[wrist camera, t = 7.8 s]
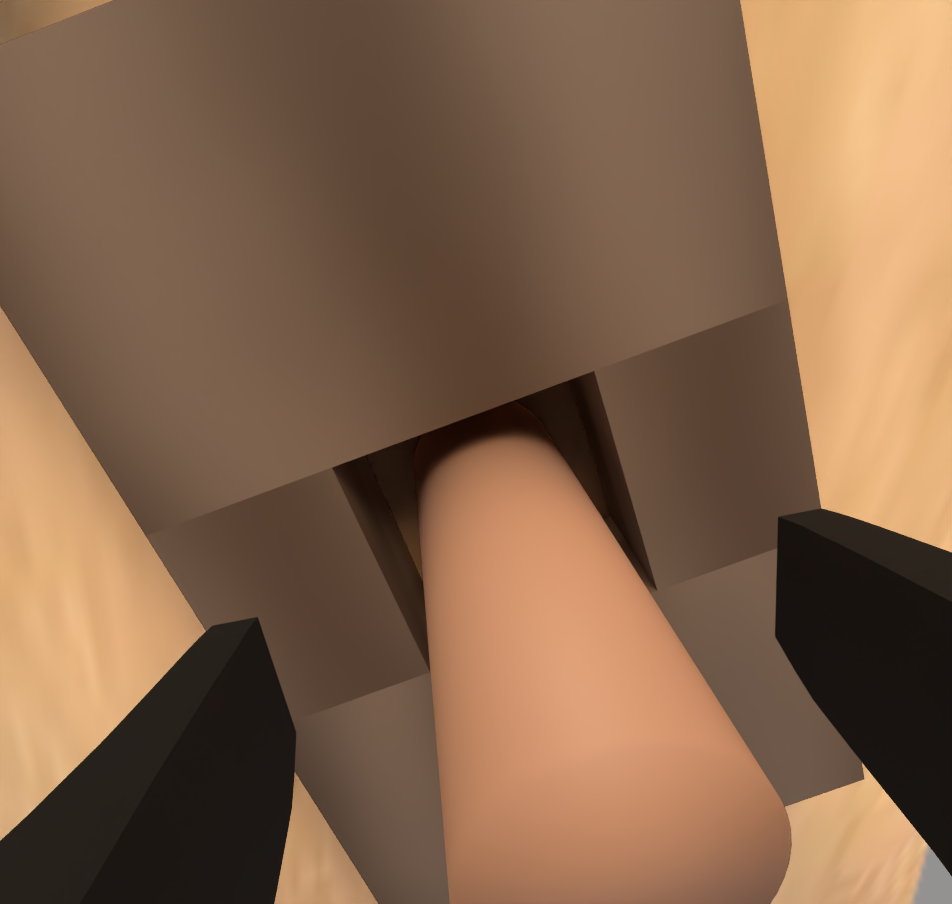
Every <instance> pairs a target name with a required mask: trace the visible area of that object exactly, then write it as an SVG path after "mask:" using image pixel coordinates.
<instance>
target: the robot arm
mask: <svg viewBox="0 0 952 904" xmlns="http://www.w3.org/2000/svg"><path fill="white" fill-rule="evenodd" d="M775 637H776V639H777V641H778V643H779V644H780V646H781V648H782V649H783V651H784V653H785V655H786V656H787V658H788V660H789V662H790V663H791V665H792V667H793V668H794V670H795V672H796V673H797V675H798V677H799V678H800V680H801V681H802V683H803V685H804V686H805V688H806V689H807V691H808V693H809V694H810V696H811V697H812V699H813V700H814V702H815V703H816V704H817V706H818V707H819V708H820V710H821V711H822V712H823V713H824V715H825V716H826V717H827V719H828V720H829V721H830V722H831V724H832V725H833V726H834V727H835V729H836V730H837V731H838V733H839V734H840V735H841V736H842V738H843V739H844V740H845V741H846V743H847V744H848V745H849V747H850V748H851V749H852V750H853V752H854V753H855V754H856V755H857V757H858V758H859V759H860V760H861V762H862V763H863V764H864V765H865V767H866V768H867V769H868V770H869V772H870V773H871V774H872V775H873V777H874V778H875V779H876V780H877V782H878V783H879V784H880V785H881V787H882V788H883V789H884V790H885V792H886V793H887V794H888V795H889V797H890V798H891V799H892V800H893V802H894V803H895V804H896V805H897V807H898V808H899V809H900V810H901V812H902V813H903V814H904V815H905V817H906V818H907V819H908V820H909V822H910V823H911V824H912V825H913V827H914V828H915V829H916V830H917V832H918V833H919V834H920V835H921V837H922V838H923V839H924V840H925V842H926V843H927V844H928V845H929V847H930V848H931V849H932V850H933V852H934V853H935V854H936V856H937V857H938V858H939V860H940V861H941V862H942V864H943V865H944V866H945V868H946V869H947V870H948V872H949V873H950V874H951V876H952V553H951V552H949V551H946V550H943V549H940V548H937V547H935V546H932V545H929V544H926V543H924V542H921V541H918V540H915V539H912V538H910V537H907V536H904V535H901V534H899V533H896V532H893V531H890V530H887V529H885V528H882V527H879V526H876V525H873V524H870V523H867V522H864V521H861V520H858V519H855V518H852V517H849V516H846V515H843V514H839V513H836V512H832V511H829V510H825V509H821V508H820V509H815V510H810V511H805V512H799V513H794V514H789V515H784V516H779V517H778V535H777V575H776V614H775ZM295 752H296V730H295V727H294V724H293V721H292V718H291V715H290V712H289V709H288V706H287V703H286V700H285V697H284V694H283V691H282V688H281V685H280V682H279V679H278V676H277V673H276V670H275V667H274V664H273V661H272V658H271V655H270V652H269V649H268V646H267V643H266V640H265V637H264V634H263V631H262V628H261V625H260V622H259V619H258V617H254V618H249V619H244V620H239V621H234V622H229V623H223V624H218V625H213V626H211V627H210V628H209V629H208V630H207V631H206V632H205V633H204V634H203V635H202V636H201V637H200V638H199V639H198V640H197V641H196V642H195V643H194V644H193V645H192V646H191V647H190V648H189V649H188V650H187V652H186V653H185V654H184V655H183V656H182V657H181V658H180V659H179V660H178V661H177V662H176V663H175V664H174V666H173V667H172V668H171V669H170V670H169V671H168V672H167V673H166V674H165V675H164V676H163V677H162V679H161V680H160V681H159V682H158V683H157V684H156V685H155V686H154V687H153V688H152V689H151V690H150V692H149V693H148V694H147V695H146V696H145V697H144V698H143V699H142V700H141V701H140V702H139V703H138V704H137V705H136V706H135V708H134V709H133V710H132V711H131V712H130V713H129V714H128V715H127V716H126V717H125V718H124V719H123V720H122V721H121V722H120V723H119V725H118V726H117V727H116V728H115V729H114V730H113V731H112V732H111V733H110V734H109V735H108V736H107V737H106V738H105V739H104V740H103V741H102V742H101V744H100V745H99V746H98V747H97V748H96V749H94V750H93V751H92V752H91V753H90V754H89V755H88V756H87V757H86V758H85V759H84V760H83V761H82V762H81V763H80V764H79V765H78V766H77V767H76V768H75V769H74V770H73V771H72V772H71V773H70V774H69V775H68V776H67V777H66V778H65V779H64V780H63V781H62V782H61V783H60V784H59V785H58V786H57V787H56V788H55V789H54V790H53V791H52V792H51V793H50V794H49V795H48V796H47V797H46V798H45V799H44V800H43V801H42V802H41V803H40V804H39V805H38V806H37V807H36V808H35V809H34V810H33V811H32V812H31V813H30V814H29V815H28V816H27V817H26V818H24V819H23V820H22V821H21V822H20V823H19V824H18V825H17V826H16V827H15V828H14V829H13V830H12V831H10V832H9V833H8V834H7V835H6V836H5V837H4V838H3V839H2V840H1V841H0V904H274V902H275V897H276V891H277V886H278V881H279V876H280V870H281V865H282V859H283V854H284V848H285V843H286V838H287V832H288V827H289V821H290V815H291V809H292V799H293V785H294V772H295Z"/></svg>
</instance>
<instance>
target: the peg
mask: <svg viewBox="0 0 952 904" xmlns="http://www.w3.org/2000/svg"><path fill="white" fill-rule="evenodd" d="M414 476H415V489H416V501H417V513H418V525H419V537H420V549H421V561H422V574H423V586H424V598H425V610H426V622H427V634H428V646H429V658H430V671H431V683H432V695H433V707H434V719H435V731H436V743H437V756H438V768H439V780H440V792H441V804H442V816H443V828H444V840H445V853H446V865H447V877H448V889H449V901H450V904H770V903H771V902H772V900H773V899H774V897H775V895H776V894H777V892H778V890H779V888H780V886H781V884H782V882H783V879H784V877H785V874H786V871H787V868H788V864H789V861H790V853H791V846H792V842H791V827H790V823H789V819H788V814H787V812H786V810H785V807H784V805H783V803H782V801H781V799H780V797H779V796H778V794H777V793H776V791H775V789H774V788H773V786H772V785H771V783H770V781H769V780H768V778H767V777H766V775H765V774H764V772H763V770H762V769H761V767H760V766H759V764H758V763H757V761H756V759H755V758H754V756H753V755H752V753H751V752H750V750H749V748H748V747H747V745H746V744H745V742H744V741H743V739H742V737H741V736H740V734H739V733H738V731H737V730H736V728H735V726H734V725H733V723H732V722H731V720H730V719H729V717H728V715H727V714H726V712H725V711H724V709H723V707H722V706H721V704H720V703H719V701H718V700H717V698H716V696H715V695H714V693H713V692H712V690H711V689H710V687H709V685H708V684H707V682H706V681H705V679H704V678H703V676H702V674H701V673H700V671H699V670H698V668H697V667H696V665H695V663H694V662H693V660H692V659H691V657H690V656H689V654H688V652H687V651H686V649H685V648H684V646H683V644H682V643H681V641H680V640H679V638H678V637H677V635H676V633H675V632H674V630H673V629H672V627H671V626H670V624H669V622H668V621H667V619H666V618H665V616H664V615H663V613H662V611H661V610H660V608H659V607H658V605H657V604H656V602H655V600H654V599H653V597H652V596H651V594H650V593H649V591H648V589H647V588H646V586H645V585H644V583H643V582H642V580H641V578H640V577H639V575H638V574H637V572H636V570H635V569H634V567H633V566H632V564H631V563H630V561H629V559H628V558H627V556H626V555H625V553H624V552H623V550H622V548H621V547H620V545H619V544H618V542H617V541H616V539H615V537H614V536H613V534H612V533H611V531H610V530H609V528H608V526H607V525H606V523H605V522H604V520H603V519H602V517H601V515H600V514H599V512H598V511H597V509H596V507H595V506H594V504H593V503H592V501H591V500H590V498H589V496H588V495H587V493H586V492H585V490H584V489H583V487H582V485H581V484H580V482H579V481H578V479H577V478H576V476H575V474H574V473H573V471H572V470H571V468H570V467H569V465H568V463H567V462H566V460H565V459H564V457H563V456H562V454H561V452H560V451H559V449H558V448H557V446H556V444H555V443H554V441H553V440H552V438H551V437H550V435H549V433H548V432H547V430H546V429H545V427H544V426H543V424H542V423H541V421H540V420H539V419H538V418H537V417H536V416H535V415H534V414H533V413H532V412H530V411H529V410H528V409H526V408H525V407H523V406H522V405H520V404H518V403H515V402H513V401H511V402H508V403H506V404H503V405H500V406H498V407H495V408H492V409H489V410H487V411H484V412H481V413H478V414H476V415H473V416H470V417H468V418H465V419H462V420H459V421H457V422H454V423H451V424H449V425H446V426H443V427H440V428H438V429H435V430H432V431H430V432H427V433H424V434H422V435H421V437H420V439H419V441H418V444H417V447H416V451H415V456H414Z"/></svg>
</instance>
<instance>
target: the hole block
mask: <svg viewBox="0 0 952 904" xmlns="http://www.w3.org/2000/svg"><path fill="white" fill-rule="evenodd" d="M0 306H1V308H2V309H3V311H4V312H5V314H6V316H7V317H8V319H9V320H10V322H11V323H12V325H13V327H14V328H15V330H16V331H17V333H18V335H19V336H20V338H21V339H22V341H23V342H24V344H25V346H26V347H27V349H28V350H29V352H30V353H31V355H32V357H33V358H34V360H35V361H36V363H37V365H38V366H39V368H40V369H41V371H42V372H43V374H44V376H45V377H46V379H47V380H48V382H49V384H50V385H51V387H52V388H53V390H54V391H55V393H56V395H57V396H58V398H59V399H60V401H61V402H62V404H63V406H64V407H65V409H66V410H67V412H68V414H69V415H70V417H71V418H72V420H73V421H74V423H75V425H76V426H77V428H78V429H79V431H80V433H81V434H82V436H83V437H84V439H85V440H86V442H87V444H88V445H89V447H90V448H91V450H92V452H93V453H94V455H95V456H96V458H97V459H98V461H99V463H100V464H101V466H102V467H103V469H104V470H105V472H106V474H107V475H108V477H109V478H110V480H111V482H112V483H113V485H114V486H115V488H116V489H117V491H118V493H119V494H120V496H121V497H122V499H123V501H124V502H125V504H126V505H127V507H128V508H129V510H130V512H131V513H132V515H133V516H134V518H135V519H136V521H137V523H138V524H139V526H140V527H141V529H142V531H143V532H144V534H145V535H146V537H147V538H148V540H149V542H150V543H151V545H152V546H153V548H154V550H155V551H156V553H157V554H158V556H159V557H160V559H161V561H162V562H163V564H164V565H165V567H166V568H167V570H168V572H169V573H170V575H171V576H172V578H173V580H174V581H175V583H176V584H177V586H178V587H179V589H180V591H181V592H182V594H183V595H184V597H185V599H186V600H187V602H188V603H189V605H190V606H191V608H192V610H193V611H194V613H195V614H196V616H197V618H198V619H199V621H200V622H201V624H202V625H203V627H204V629H205V630H206V631H207V630H208V629H209V628H210V627H211V626H213V625H218V624H223V623H229V622H234V621H239V620H244V619H249V618H254V617H258V619H259V622H260V625H261V628H262V631H263V634H264V637H265V640H266V643H267V646H268V649H269V652H270V655H271V658H272V661H273V664H274V667H275V670H276V673H277V676H278V679H279V682H280V685H281V688H282V691H283V694H284V697H285V700H286V703H287V706H288V709H289V712H290V715H291V718H292V721H293V724H294V727H295V730H296V752H295V772H296V774H297V776H298V777H299V779H300V780H301V782H302V784H303V785H304V787H305V788H306V790H307V791H308V793H309V795H310V796H311V798H312V799H313V801H314V802H315V804H316V806H317V807H318V809H319V810H320V812H321V814H322V815H323V817H324V818H325V820H326V821H327V823H328V825H329V826H330V828H331V829H332V831H333V833H334V834H335V836H336V837H337V839H338V840H339V842H340V844H341V845H342V847H343V848H344V850H345V851H346V853H347V855H348V856H349V858H350V859H351V861H352V863H353V864H354V866H355V867H356V869H357V870H358V872H359V874H360V875H361V877H362V878H363V880H364V882H365V883H366V885H367V886H368V888H369V889H370V891H371V893H372V894H373V896H374V897H375V899H376V900H377V902H378V904H450V901H449V889H448V877H447V865H446V853H445V840H444V828H443V816H442V804H441V792H440V780H439V768H438V756H437V743H436V731H435V719H434V707H433V695H432V683H431V671H430V658H429V646H428V634H427V622H426V610H425V598H424V586H423V581H422V579H421V577H420V575H419V572H418V570H417V568H416V566H415V564H414V561H413V559H412V557H411V555H410V553H409V550H408V548H407V546H406V544H405V542H404V539H403V537H402V535H401V533H400V531H399V528H398V526H397V524H396V522H395V520H394V517H393V515H392V513H391V511H390V509H389V506H388V504H387V502H386V500H385V498H384V495H383V493H382V491H381V489H380V487H379V484H378V482H377V480H376V478H375V476H374V473H373V471H372V469H371V467H370V465H369V462H368V460H367V458H366V456H365V455H367V454H370V453H373V452H375V451H378V450H381V449H383V448H386V447H389V446H392V445H394V444H397V443H400V442H402V441H405V440H408V439H411V438H413V437H416V436H419V435H421V434H424V433H427V432H430V431H432V430H435V429H438V428H440V427H443V426H446V425H449V424H451V423H454V422H457V421H459V420H462V419H465V418H468V417H470V416H473V415H476V414H478V413H481V412H484V411H487V410H489V409H492V408H495V407H498V406H500V405H503V404H506V403H508V402H511V401H514V400H517V399H519V398H522V397H525V396H527V395H530V394H533V393H536V392H538V391H541V390H544V389H546V388H549V387H552V386H555V385H557V384H560V383H563V382H565V381H568V380H569V381H570V384H571V388H572V391H573V394H574V397H575V401H576V404H577V407H578V410H579V414H580V417H581V420H582V424H583V427H584V430H585V433H586V437H587V440H588V443H589V447H590V450H591V453H592V456H593V460H594V463H595V466H596V470H597V473H598V476H599V479H600V483H601V486H602V489H603V492H604V496H605V499H606V502H607V506H608V509H609V512H610V515H611V516H610V517H607V518H605V519H603V520H604V522H605V523H606V525H607V526H608V528H609V530H610V531H611V533H612V534H613V536H614V537H615V539H616V541H617V542H618V544H619V545H620V547H621V548H622V550H623V552H624V553H625V555H626V556H627V558H628V559H629V561H630V563H631V564H632V566H633V567H634V569H635V570H636V572H637V574H638V575H639V577H640V578H641V580H642V582H643V583H644V585H645V586H646V588H647V589H648V591H649V593H650V594H651V596H652V597H653V599H654V600H655V602H656V604H657V605H658V607H659V608H660V610H661V611H662V613H663V615H664V616H665V618H666V619H667V621H668V622H669V624H670V626H671V627H672V629H673V630H674V632H675V633H676V635H677V637H678V638H679V640H680V641H681V643H682V644H683V646H684V648H685V649H686V651H687V652H688V654H689V656H690V657H691V659H692V660H693V662H694V663H695V665H696V667H697V668H698V670H699V671H700V673H701V674H702V676H703V678H704V679H705V681H706V682H707V684H708V685H709V687H710V689H711V690H712V692H713V693H714V695H715V696H716V698H717V700H718V701H719V703H720V704H721V706H722V707H723V709H724V711H725V712H726V714H727V715H728V717H729V719H730V720H731V722H732V723H733V725H734V726H735V728H736V730H737V731H738V733H739V734H740V736H741V737H742V739H743V741H744V742H745V744H746V745H747V747H748V748H749V750H750V752H751V753H752V755H753V756H754V758H755V759H756V761H757V763H758V764H759V766H760V767H761V769H762V770H763V772H764V774H765V775H766V777H767V778H768V780H769V781H770V783H771V785H772V786H773V788H774V789H775V791H776V793H777V794H778V796H779V797H780V799H781V801H782V803H783V805H784V807H785V806H788V805H791V804H794V803H797V802H800V801H802V800H805V799H808V798H811V797H814V796H817V795H820V794H823V793H826V792H828V791H831V790H834V789H837V788H840V787H843V786H846V785H849V784H852V783H854V782H857V781H860V780H863V779H864V774H863V768H862V762H861V760H860V759H859V758H858V757H857V755H856V754H855V753H854V752H853V750H852V749H851V748H850V747H849V745H848V744H847V743H846V741H845V740H844V739H843V738H842V736H841V735H840V734H839V733H838V731H837V730H836V729H835V727H834V726H833V725H832V724H831V722H830V721H829V720H828V719H827V717H826V716H825V715H824V713H823V712H822V711H821V710H820V708H819V707H818V706H817V704H816V703H815V702H814V700H813V699H812V697H811V696H810V694H809V693H808V691H807V689H806V688H805V686H804V685H803V683H802V681H801V680H800V678H799V677H798V675H797V673H796V672H795V670H794V668H793V667H792V665H791V663H790V662H789V660H788V658H787V656H786V655H785V653H784V651H783V649H782V648H781V646H780V644H779V643H778V641H777V639H776V637H775V614H776V575H777V535H778V517H779V516H784V515H789V514H794V513H799V512H805V511H810V510H815V509H820V508H821V505H820V499H819V492H818V486H817V480H816V473H815V467H814V461H813V455H812V448H811V442H810V436H809V430H808V423H807V417H806V411H805V405H804V398H803V392H802V386H801V380H800V373H799V367H798V361H797V355H796V348H795V342H794V336H793V330H792V323H791V317H790V311H789V304H788V298H787V292H786V286H785V279H784V273H783V267H782V261H781V254H780V248H779V242H778V236H777V229H776V223H775V217H774V211H773V204H772V198H771V192H770V186H769V179H768V173H767V167H766V160H765V154H764V148H763V142H762V135H761V129H760V123H759V117H758V110H757V104H756V98H755V92H754V85H753V79H752V73H751V67H750V60H749V54H748V48H747V42H746V35H745V29H744V23H743V17H742V10H741V4H740V0H113V1H110V2H108V3H105V4H103V5H100V6H98V7H95V8H93V9H90V10H87V11H85V12H82V13H80V14H77V15H75V16H72V17H70V18H67V19H65V20H62V21H59V22H57V23H54V24H52V25H49V26H47V27H44V28H42V29H39V30H37V31H34V32H31V33H29V34H26V35H24V36H21V37H19V38H16V39H14V40H11V41H9V42H6V43H4V44H1V45H0Z"/></svg>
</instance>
